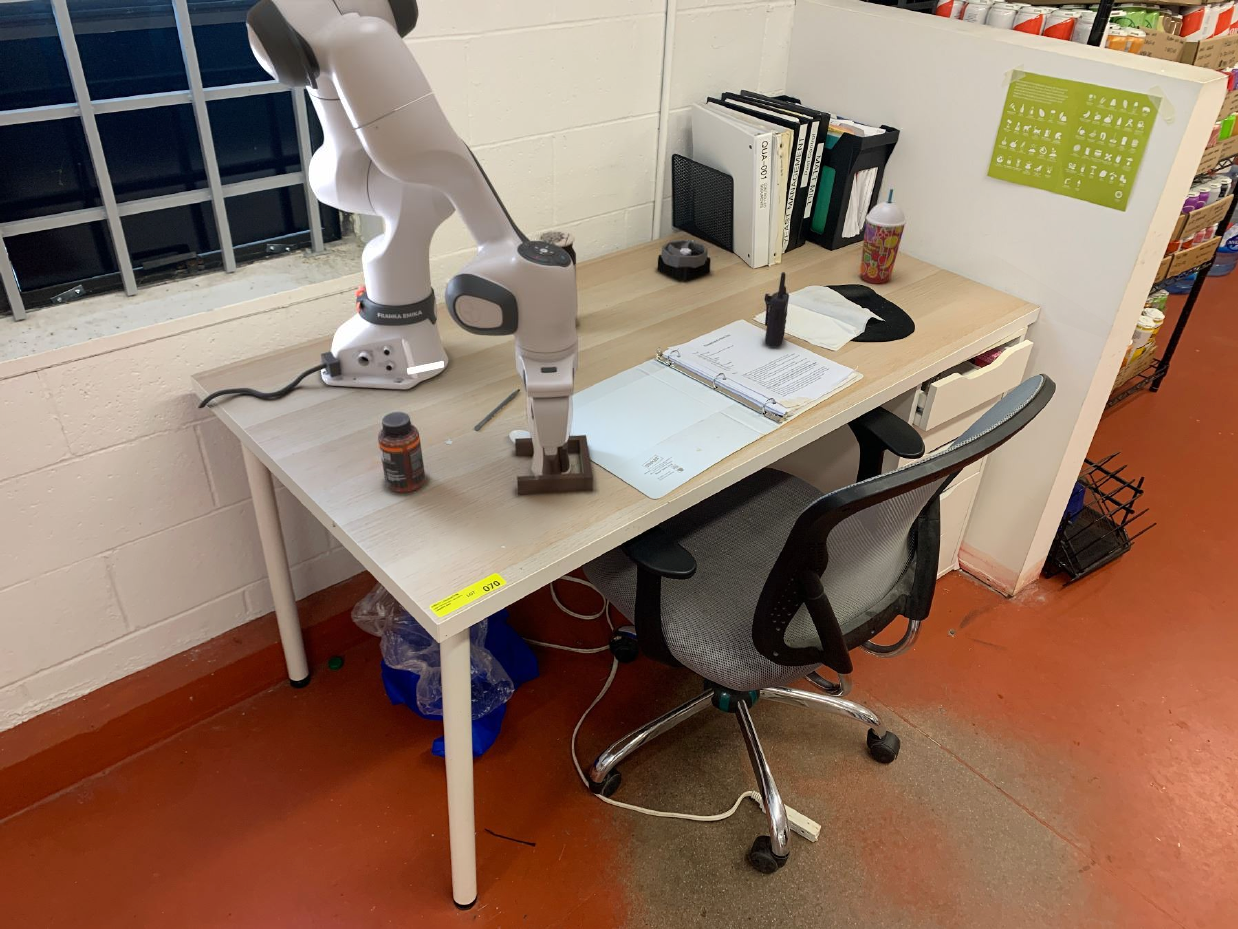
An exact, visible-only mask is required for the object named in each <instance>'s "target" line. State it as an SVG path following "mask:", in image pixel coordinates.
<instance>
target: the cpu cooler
mask: <svg viewBox="0 0 1238 929" xmlns="http://www.w3.org/2000/svg"><path fill="white" fill-rule="evenodd" d="M661 246H662V247H661V253H660V254H658V257H657V271H658V272H660V273H661V274H664V275H666V276H668V277H671V278H673V279H675V280H677V281H678V282H681V281H684V282H687V281H690V280H694V279H696V278H697V279H698V278H701V277H702V276H706V275H708V274H710V271H711V257H708V251H709V249H708V248H707V247H706V246H705V244H703V243H701V242H699V241H697V240H694V239H686V238H684V239H680V240H670V241H668V242H666V243H664V244H662V245H661Z"/></svg>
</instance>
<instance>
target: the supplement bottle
mask: <svg viewBox="0 0 1238 929" xmlns="http://www.w3.org/2000/svg"><path fill="white" fill-rule="evenodd" d="M381 424H382V428H381V429H380V431H379V432H378V435H377V441H378V447H379V453H380V454H379V455H380V458H381V465H382V472H383V477H384V481H385V485H386V486H387V488H388V489H389V490H391V491H394V492H399V493H405V492H411V491H414V490H416V489H418V488H420V487H421V486H423V484H424V483H425V480H426V472H425V471H426V470H425V464H424V459H423V452H422V450H423V449H422V444H421V438H420V433H419V430H418V427H416V426H415V425H414V424H412V421H411V417H410V415H409V414H408V413H405V412H403V411H393V412H389V413H387V414H386V415H384V416H383V417H382V419H381Z"/></svg>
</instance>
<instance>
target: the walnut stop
mask: <svg viewBox="0 0 1238 929" xmlns="http://www.w3.org/2000/svg"><path fill="white" fill-rule="evenodd" d="M514 444H515V445H514V446H515V456H519V457H520V456H533V444H532V439H531V437H522V438H521V437H519V438H514ZM574 453H579V459H580V468H581V472H576V473H575V472H572V473H568V474H554V475H521V476H519V475H518V476H516V486H517V494H518V495H531V494H548V493H549V494H551V493H567V492H568V493H569V492H581V491H582V492H583V491H585V492H587V491H594V474H593V469H592V463H591V457H590V451H589V444H588V439H587V434H579V435H570V437H569V443H568V454H574Z"/></svg>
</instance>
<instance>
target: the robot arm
mask: <svg viewBox="0 0 1238 929" xmlns="http://www.w3.org/2000/svg"><path fill="white" fill-rule="evenodd" d="M419 16H420V15H419V6H418V2H417V0H259V1H258V2H257V3H255V5H253V6H252V7H251V8H250V9H249V10H247V14H246V20H245V25H246V28H247V34H248V35H247V36H248V41H249V45H250V48H251V51H252V53H253V55H254V57H255V58H256V60H257V61H258V63H259V64H260V66H261V67H262V68H263V69H264V70H265V71H266V73H268V74H269V75H270V76H272V77H273V79H274V80H275V82H277V83H279V84H282V85H283V86H284V85H285V86H288V87H291V88H300V87H305V88H306V90H307V92H308V95H309V98H310V100H311V101H312V105H313V107H314V109H315V112H316V114H317V117H318V119H319V122H320V125H321V128H322V131H323V143H322V144H321V146H319V147H318V148H317V150H316V151H315V152H314V154H313V155H312V157H311V160H310V163H309V167H308V181H309V185H310V188H311V190H312V192H313V194H314V196H315V197H316V199H317V200H318V201H319V202H321V203H322V204H325V205H327V206H330V207H333V208H335V209H338V210H341V211H344V212H346V213H351V214H352V213H353V214H359V215H367V216H375V217H380V218H383V220H384V223H385V232H384V233H381V234H379V235H377V236H376V237H374V238H372V239H371V240H369V242H368V243H367V244H366V245H365V246H364V249H363V252H362V255H361V263H362V269H363V270H362V271H363V276H364V282H365V283H364V284H365V286H364V285H360V286H359V287H357V289H356V293H355V297H356V302H355V303H356V311H357V313H356V314H354V315H353V316H352V317H350V318H349V319H348V320H347V321H346V322H345V323H343V324H342V325H340V326H339V327H338V329H337V331H336V332H335V334H334V336H333V339H332V344H331V349H330V350H329V351H327V352H324V353H320V358H321V364H319V365H316V366H314V367H312V368H308V369H307V370H305V371H304V372H302V373H301V374H300V375H299V376H297V377H296V379H295V380H293V381H292V382H291V383H289V384H287V385H286V386H285V387H284V388H282V389H280V390H277V391H276V390H275V391H273V392H262V391H259V390H257V389H253V388H250V387H237V388H226V389H221V390H218V391H214V392H212V393H211V394H209V395H208V396H206V397H205V398H204V399H203V400H202V401H201V402H200V403H199V405H198V407H197V409H203V408H205V407H206V406H207V404H209V403H210V402H211V401H213V400H214V399H216V398H218V397H221V396H226V395H233V394H251V395H253V396H255V397H259V398H262V399H271V398H277V397H280V396H283V395H284V394H286V393H288V392H289V391H291V390H292V389H293V388H295V387H296V386H297V385H299V384H300V383H301V382H302V381H303V380H304V379H305V378H307V377H309V376H310V375H313V374H314V373H316V372H318V371H319V372H320V373H321V379H322V381H323V382H324V383H325V384H326V385H328V386H335V387H351V388H352V387H353V388H370V389H371V388H372V389H373V388H374V389H387V390H388V389H389V390H409V389H412V388H413V387H416V385H418V384H419V383H421V382H423V381H425V380H428V379H431V378H433V377H436V376H437V375H438V374H440V373H442V372H443V371H444V370H445V369H446V368H447V366H448V364H449V357H448V355H447V353H446V351H445V348H444V345H443V342H442V339H441V336H440V332H439V328H438V324H437V321H438V306H437V297H436V295H435V290H434V288H433V287H432V282H431V280H432V279H431V268H430V266H431V265H430V250H431V249H430V248H431V243H432V240H433V237H434V235H435V233H436V231H437V229H439V227H440V226H441V224H443V223H444V222H445V221H446V220H448V219H450V217H451V216H452V215H453V214H454V213H455V212H457V214H458V216H459V218H460V219H461V221H462V222H463V224H464V226H465V227H466V228H467V230H468V232H469V234H470V236H471V237H472V238H473V240H474V242H475V245H476V251H477V252H476V257H474V258H473V259H472V260H471V261H469V262H467V264H465V266H463V267H462V268H461V269H460V270H458V272H457V273H456V274H455V275H454V276H453V277H452V278H451V279H450V280H449V281H448V283H447V284H446V287H445V290H444V302H445V305H446V309H447V311H448V314H449V315H450V317H451V318H452V320H453V321H454V322H455V324H456V325H457V326H459V327H460V328H461V329H462V330H464V331H466V332H468V333H469V334H473V335H475V336H491V337H492V336H493V337H495V336H496V337H498V336H499V337H502V336H510V335H513V338H514V348H515V349H514V353H515V354H514V355H515V368H516V371H517V373H518V374H519V375H520V378H521V380H522V382H523V384H524V389H525V393H526V392H527V397H530V399H531V404H532V409H533V415H534V421H535V427H536V433H537V438H538V442H539V445H540V446H541V447H544V449H545V454H546V455H556V454H557V447H560V446H563V445H564V443H565V441H566V435H567V424H568V413H569V396H573V395H574V394H575V392H574V391H575V378H576V374H577V371H578V369H579V336H578V331H577V328H576V327H577V326H575V318H576V315H577V314H578V286H577V274H576V275H575V269H574V265H573V262H572V259H571V257H570V256H569V254H568V253H567V252H566V251H565V250H564V249H562V248H561V247H559V246H557V245H555V244H553V243H550V242H545V241H535V240H531V239H529V238H528V237H527V236H526V235H525V234H524V233H523V232H522V230H521V229H520V228H519V227H518V226H517V224H516V223H515V221H514V219H513V218H512V217H511V214H510V213H509V211H508V210H507V208H506V206H505V204H504V202H503V201H502V199H501V197H500V196H499V194H498V192H497V191H496V189H495V187H494V185H493V184H492V182H491V180H490V178H489V177H488V175H487V174H486V172H485V170H484V169H483V166H482V165H481V163H480V161H479V159H478V158H477V156H476V155H475V153H473V151H472V149H471V148H470V147H469V146H468V145H467V143H466V142H465V141H464V140H463V139H462V138H461V137H460V135H458V133H457V132H456V130H455V129H454V127H453V126H452V125H451V123H450V121H449V119H448V118H447V116H446V115H445V113H444V111H443V109H442V108H441V105H440V103H439V101H438V100H437V97H436V96H435V94H434V92H433V89H432V87H431V85H430V83H429V81H428V79H427V77H426V76H425V73H424V72H423V70H422V68H421V66H420V65H419V63H418V62H417V61H418V60H416V58H415V56H414V55H413V53H412V52H411V50H410V49H409V47H408V45H407V44H406V43H405V41H404V40H403V39H404V38H405V37H406V36H408V35H409V34H410V33H411V32H412V31H414V29H415V28H416V27H417V22H418V19H419Z"/></svg>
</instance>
